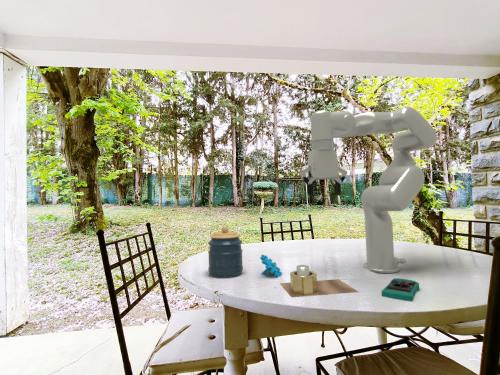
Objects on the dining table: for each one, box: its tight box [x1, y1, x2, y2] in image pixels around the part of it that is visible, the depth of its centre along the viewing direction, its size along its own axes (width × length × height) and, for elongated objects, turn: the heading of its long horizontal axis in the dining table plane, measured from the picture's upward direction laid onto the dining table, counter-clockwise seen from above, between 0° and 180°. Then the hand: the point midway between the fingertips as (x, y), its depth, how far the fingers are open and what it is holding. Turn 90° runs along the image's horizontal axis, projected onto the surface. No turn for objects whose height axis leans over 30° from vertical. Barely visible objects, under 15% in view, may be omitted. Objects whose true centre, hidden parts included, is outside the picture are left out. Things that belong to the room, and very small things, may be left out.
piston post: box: [296, 264, 310, 276], centre depth 83 cm, size 4×4×7 cm
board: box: [279, 278, 360, 298], centre depth 85 cm, size 20×13×1 cm, turn 99°
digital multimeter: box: [381, 277, 420, 302], centre depth 80 cm, size 7×15×3 cm, turn 142°
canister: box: [207, 225, 244, 279], centre depth 106 cm, size 13×13×18 cm
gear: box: [260, 254, 283, 278], centre depth 102 cm, size 11×6×10 cm
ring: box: [289, 270, 318, 295], centre depth 83 cm, size 7×7×5 cm
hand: (324, 195), depth 98 cm, fingers open, 9 cm apart
